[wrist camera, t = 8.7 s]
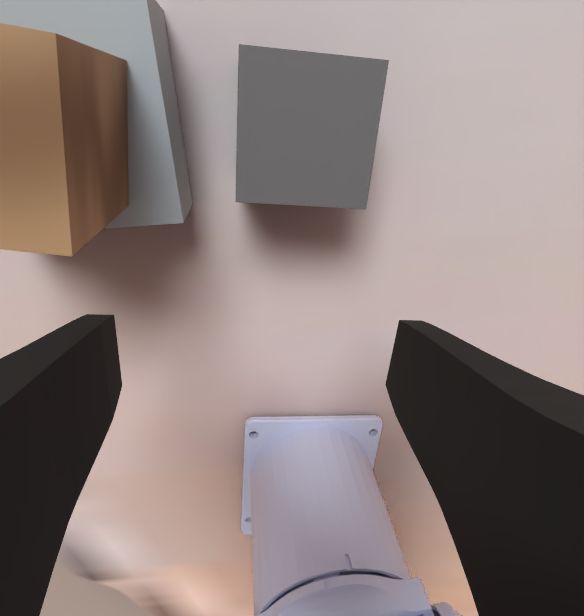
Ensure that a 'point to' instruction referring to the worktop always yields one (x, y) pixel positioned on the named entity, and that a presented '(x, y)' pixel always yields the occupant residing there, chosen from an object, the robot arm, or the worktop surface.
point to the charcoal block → (306, 127)
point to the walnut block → (59, 141)
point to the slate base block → (129, 94)
